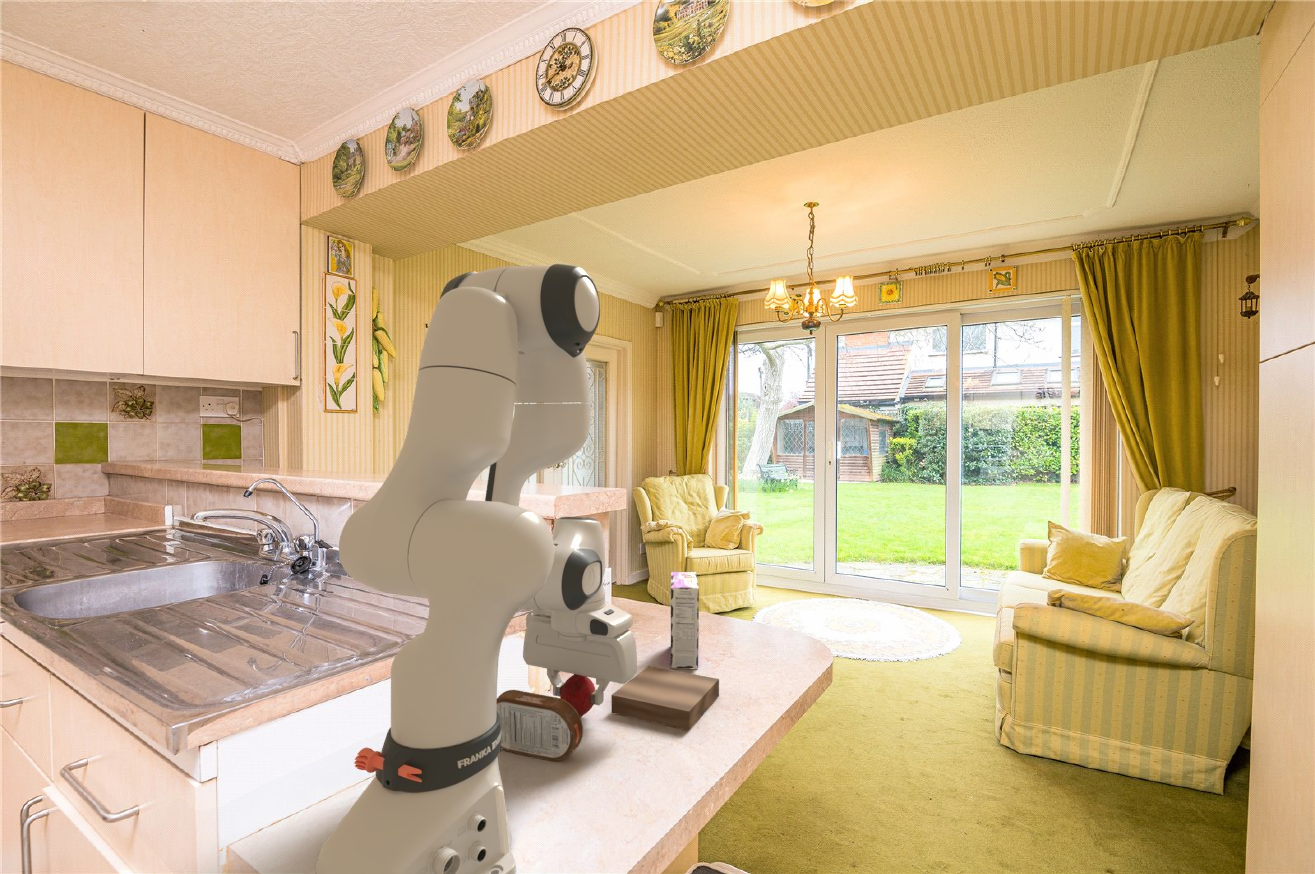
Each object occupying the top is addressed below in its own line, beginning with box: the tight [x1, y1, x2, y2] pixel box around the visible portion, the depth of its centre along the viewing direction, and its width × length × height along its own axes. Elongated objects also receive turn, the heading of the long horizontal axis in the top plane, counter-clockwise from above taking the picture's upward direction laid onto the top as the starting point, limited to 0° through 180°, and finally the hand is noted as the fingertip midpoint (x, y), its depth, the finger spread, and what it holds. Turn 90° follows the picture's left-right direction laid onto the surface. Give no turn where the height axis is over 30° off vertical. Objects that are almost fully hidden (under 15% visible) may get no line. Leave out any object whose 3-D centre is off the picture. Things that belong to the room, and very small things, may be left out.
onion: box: [559, 674, 596, 719], centre depth 97 cm, size 6×6×8 cm
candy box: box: [669, 571, 700, 669], centre depth 125 cm, size 14×6×16 cm, turn 178°
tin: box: [496, 689, 584, 762], centre depth 86 cm, size 15×3×8 cm, turn 70°
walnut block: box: [610, 665, 720, 731], centre depth 102 cm, size 14×14×3 cm
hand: (578, 699), depth 97 cm, fingers closed on onion, 6 cm apart
